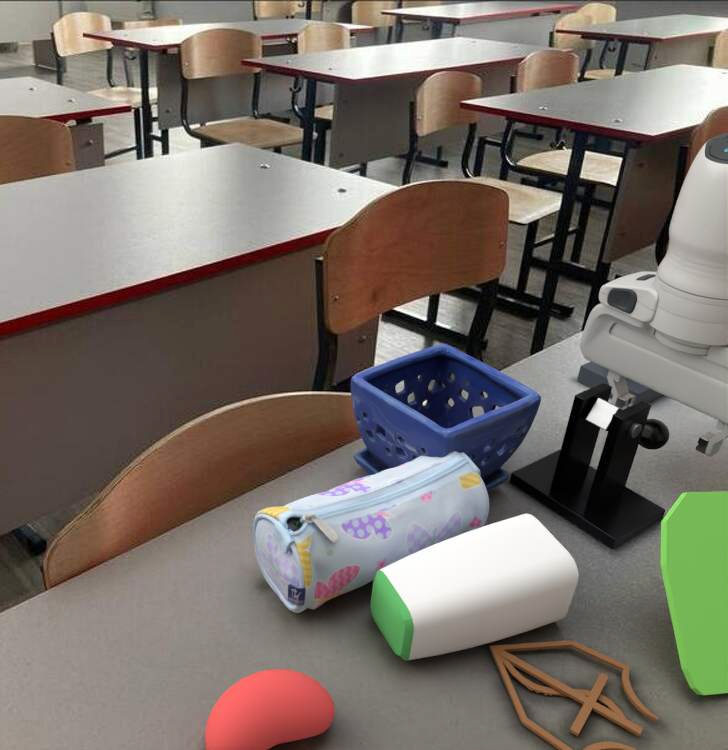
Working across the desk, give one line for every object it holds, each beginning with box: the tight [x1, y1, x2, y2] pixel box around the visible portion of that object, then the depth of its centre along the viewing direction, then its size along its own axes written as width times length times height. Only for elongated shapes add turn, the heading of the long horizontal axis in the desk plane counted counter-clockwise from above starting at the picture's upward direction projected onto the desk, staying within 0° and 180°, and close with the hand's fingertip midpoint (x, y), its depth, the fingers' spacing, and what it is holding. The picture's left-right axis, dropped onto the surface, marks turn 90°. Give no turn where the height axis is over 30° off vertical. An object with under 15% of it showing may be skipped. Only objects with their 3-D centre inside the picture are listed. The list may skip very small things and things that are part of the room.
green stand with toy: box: [660, 490, 728, 696], centre depth 65 cm, size 15×15×6 cm
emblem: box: [489, 639, 659, 750], centre depth 60 cm, size 12×10×1 cm
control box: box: [576, 361, 664, 405], centre depth 99 cm, size 10×8×4 cm
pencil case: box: [252, 451, 490, 614], centre depth 69 cm, size 21×9×10 cm, turn 118°
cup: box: [370, 513, 580, 662], centre depth 64 cm, size 7×7×15 cm
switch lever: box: [586, 398, 670, 451], centre depth 78 cm, size 14×3×3 cm, turn 124°
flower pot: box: [350, 343, 542, 493], centre depth 79 cm, size 13×13×12 cm
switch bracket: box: [509, 383, 666, 550], centre depth 77 cm, size 8×12×12 cm, turn 33°
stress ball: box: [204, 668, 336, 750], centre depth 55 cm, size 5×9×6 cm
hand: (661, 429), depth 82 cm, fingers open, 8 cm apart
